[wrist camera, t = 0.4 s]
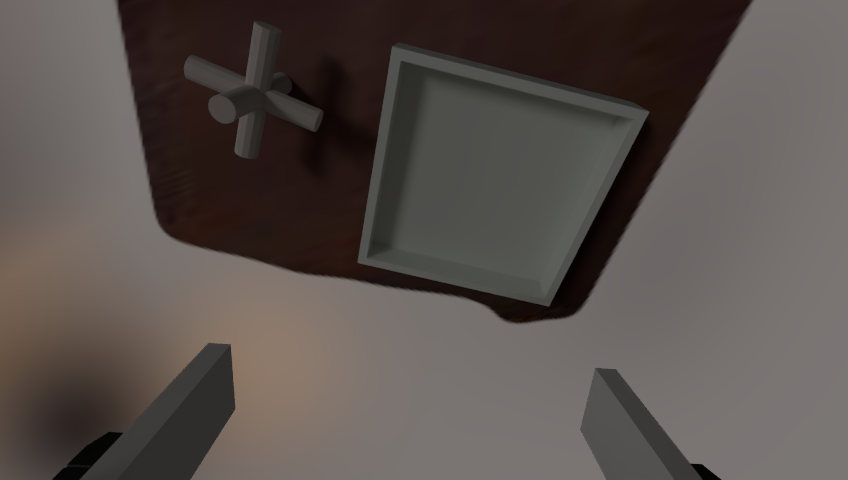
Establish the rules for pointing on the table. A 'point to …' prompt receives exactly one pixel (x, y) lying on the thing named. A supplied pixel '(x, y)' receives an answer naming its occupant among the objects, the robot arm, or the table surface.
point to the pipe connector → (253, 92)
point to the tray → (489, 173)
